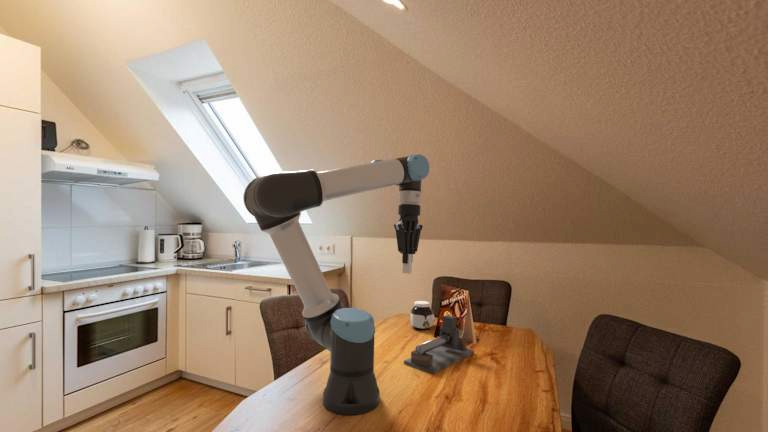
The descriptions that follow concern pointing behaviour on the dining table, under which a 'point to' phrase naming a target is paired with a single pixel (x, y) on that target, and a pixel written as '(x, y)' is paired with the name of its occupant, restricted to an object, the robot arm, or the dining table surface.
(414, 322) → the spread jar
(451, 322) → the dark grey tall block
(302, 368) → the dining table surface
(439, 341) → the pipe
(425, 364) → the pipe rig
